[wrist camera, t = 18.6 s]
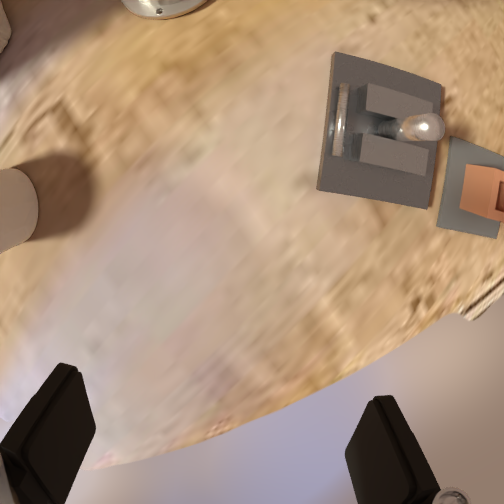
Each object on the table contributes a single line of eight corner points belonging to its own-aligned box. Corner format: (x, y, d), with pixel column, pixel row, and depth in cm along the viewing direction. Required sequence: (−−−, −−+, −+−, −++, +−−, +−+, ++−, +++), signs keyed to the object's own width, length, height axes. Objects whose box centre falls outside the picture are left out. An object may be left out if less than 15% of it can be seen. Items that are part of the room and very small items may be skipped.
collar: (466, 163, 33) (494, 167, 27) (494, 174, 33) (522, 179, 28) (459, 208, 35) (486, 218, 29) (487, 215, 35) (515, 225, 29)
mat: (450, 136, 33) (452, 136, 32) (507, 159, 33) (509, 159, 33) (436, 226, 36) (438, 227, 36) (494, 237, 37) (496, 238, 36)
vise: (331, 55, 30) (365, 18, 19) (435, 86, 31) (491, 72, 20) (316, 189, 35) (347, 205, 24) (421, 207, 35) (476, 229, 25)
